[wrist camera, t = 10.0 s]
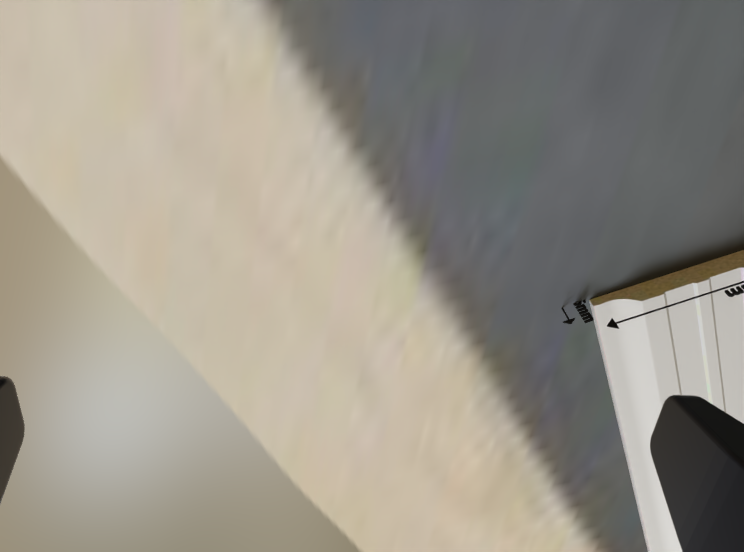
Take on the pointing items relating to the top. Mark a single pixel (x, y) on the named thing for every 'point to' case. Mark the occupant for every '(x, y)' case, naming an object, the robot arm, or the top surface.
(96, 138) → the top surface
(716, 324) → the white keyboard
